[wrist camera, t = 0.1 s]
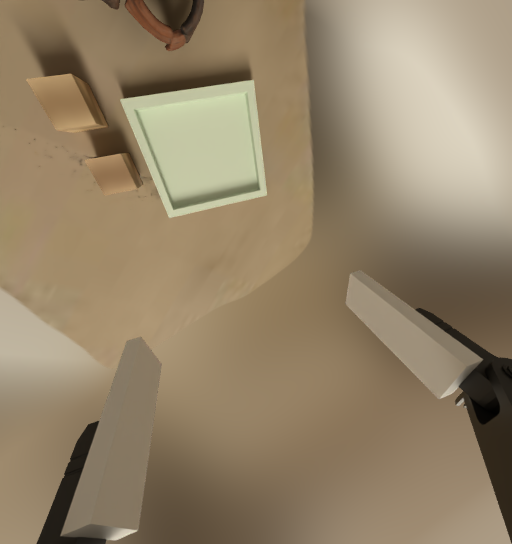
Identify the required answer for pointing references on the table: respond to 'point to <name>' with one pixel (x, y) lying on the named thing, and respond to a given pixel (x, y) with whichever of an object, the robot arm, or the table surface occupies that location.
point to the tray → (200, 145)
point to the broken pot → (157, 27)
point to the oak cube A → (68, 103)
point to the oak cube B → (115, 173)
